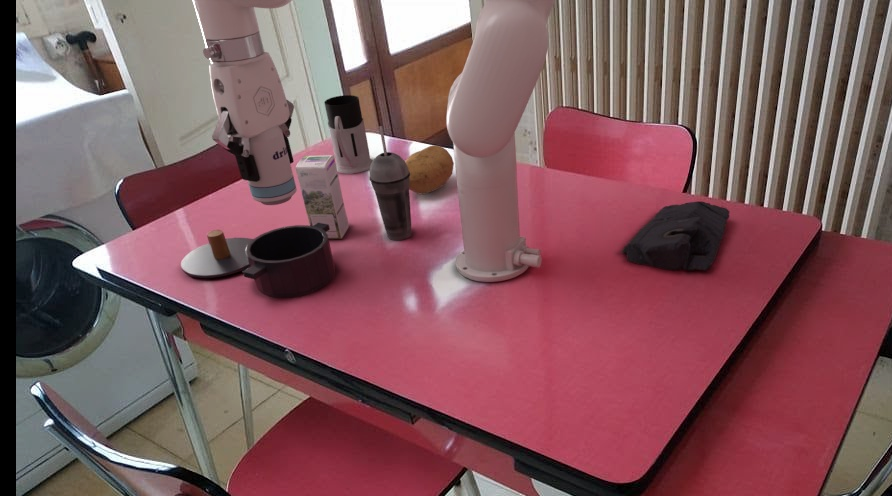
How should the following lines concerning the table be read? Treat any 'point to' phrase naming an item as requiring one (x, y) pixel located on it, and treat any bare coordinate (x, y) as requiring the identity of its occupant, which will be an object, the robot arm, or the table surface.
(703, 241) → the black folded cloth
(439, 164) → the potato
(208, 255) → the lid
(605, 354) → the table surface
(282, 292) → the pan
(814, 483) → the table surface
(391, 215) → the beverage cup
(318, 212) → the syrup box
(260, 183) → the beverage can
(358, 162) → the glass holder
